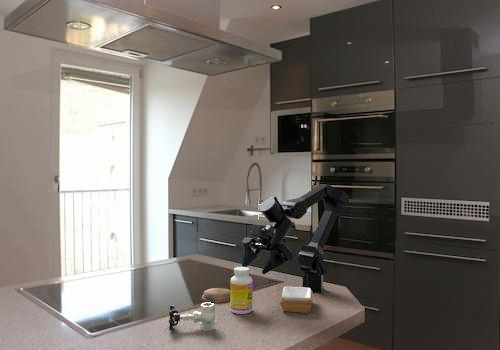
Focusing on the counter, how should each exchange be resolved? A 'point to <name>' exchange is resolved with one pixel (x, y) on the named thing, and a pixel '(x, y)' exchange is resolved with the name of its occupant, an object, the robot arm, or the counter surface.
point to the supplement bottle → (241, 291)
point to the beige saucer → (217, 295)
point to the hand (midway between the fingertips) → (252, 270)
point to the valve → (195, 316)
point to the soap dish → (296, 299)
